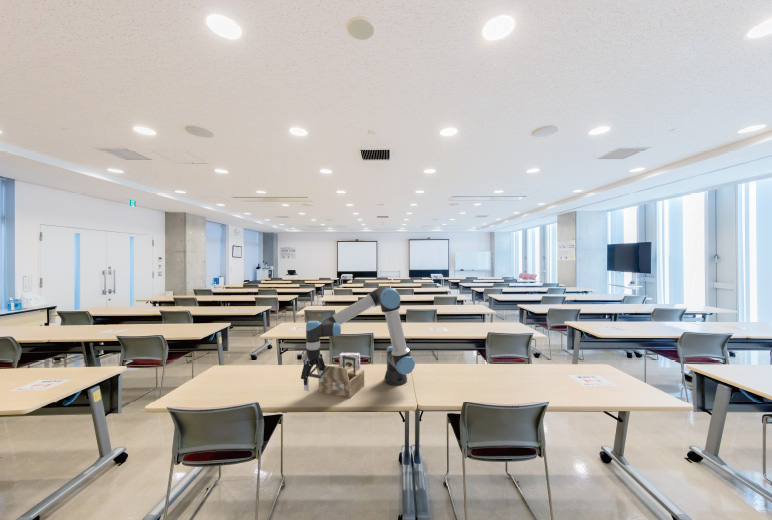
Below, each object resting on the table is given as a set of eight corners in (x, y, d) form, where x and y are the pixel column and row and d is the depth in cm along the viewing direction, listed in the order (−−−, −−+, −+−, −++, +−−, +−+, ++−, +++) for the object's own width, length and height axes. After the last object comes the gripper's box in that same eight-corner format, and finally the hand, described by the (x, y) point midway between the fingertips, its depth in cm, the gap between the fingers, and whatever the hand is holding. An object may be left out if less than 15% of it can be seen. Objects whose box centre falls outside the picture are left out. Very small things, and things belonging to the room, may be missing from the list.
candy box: (360, 376, 219) (360, 352, 219) (359, 379, 213) (358, 355, 213) (341, 375, 220) (340, 352, 220) (339, 378, 215) (338, 354, 214)
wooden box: (364, 386, 202) (364, 370, 202) (349, 398, 186) (349, 381, 185) (335, 380, 211) (335, 366, 211) (318, 392, 195) (318, 375, 194)
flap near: (346, 367, 183) (336, 379, 173) (349, 381, 185) (339, 393, 176) (316, 362, 192) (305, 373, 182) (318, 375, 194) (308, 387, 185)
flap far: (363, 370, 202) (363, 353, 201) (356, 376, 193) (356, 358, 193) (335, 366, 211) (334, 349, 210) (327, 371, 202) (326, 354, 202)
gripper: (320, 342, 193) (321, 377, 193) (293, 353, 170) (294, 393, 171) (331, 343, 189) (331, 378, 190) (304, 355, 167) (305, 395, 168)
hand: (313, 385), depth 180 cm, fingers open, 12 cm apart
